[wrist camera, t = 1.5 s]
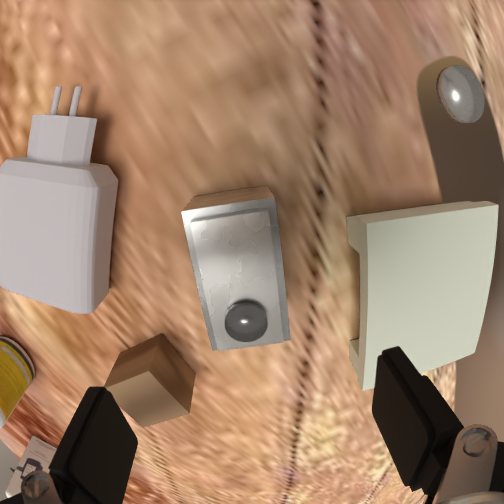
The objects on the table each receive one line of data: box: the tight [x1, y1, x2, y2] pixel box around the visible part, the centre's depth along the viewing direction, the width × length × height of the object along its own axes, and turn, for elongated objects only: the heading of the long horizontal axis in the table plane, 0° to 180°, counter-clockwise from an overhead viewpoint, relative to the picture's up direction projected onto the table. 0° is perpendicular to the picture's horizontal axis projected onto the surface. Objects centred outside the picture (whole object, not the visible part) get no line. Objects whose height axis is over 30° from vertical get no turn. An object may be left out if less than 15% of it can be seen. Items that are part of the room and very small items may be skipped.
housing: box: [181, 186, 290, 351], centre depth 20 cm, size 9×5×7 cm, turn 8°
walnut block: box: [104, 333, 196, 427], centre depth 23 cm, size 5×5×5 cm
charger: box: [0, 86, 119, 314], centre depth 18 cm, size 5×9×15 cm
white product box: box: [6, 436, 57, 498], centre depth 26 cm, size 8×5×12 cm, turn 153°
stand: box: [346, 201, 498, 391], centre depth 22 cm, size 14×12×4 cm
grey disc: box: [436, 65, 485, 123], centre depth 19 cm, size 5×5×1 cm
